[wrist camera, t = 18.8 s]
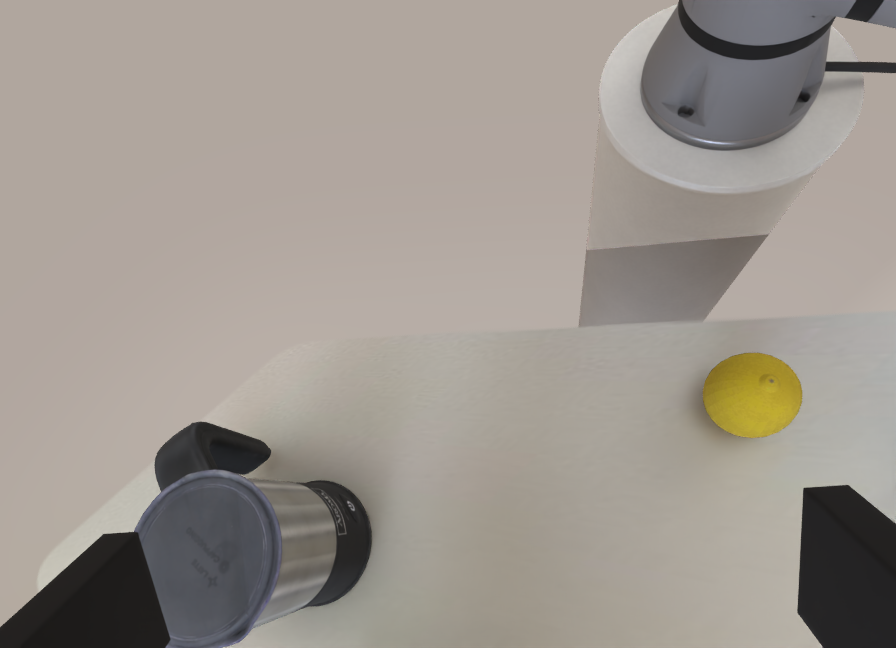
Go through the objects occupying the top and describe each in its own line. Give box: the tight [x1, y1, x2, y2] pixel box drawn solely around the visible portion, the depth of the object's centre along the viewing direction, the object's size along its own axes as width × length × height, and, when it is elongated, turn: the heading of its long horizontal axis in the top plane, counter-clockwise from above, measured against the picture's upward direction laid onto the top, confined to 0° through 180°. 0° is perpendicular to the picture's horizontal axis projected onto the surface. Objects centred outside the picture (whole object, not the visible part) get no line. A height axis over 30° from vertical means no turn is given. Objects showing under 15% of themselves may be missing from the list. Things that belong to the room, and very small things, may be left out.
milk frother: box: [134, 422, 371, 648], centre depth 35 cm, size 14×16×15 cm
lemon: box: [703, 353, 802, 438], centre depth 35 cm, size 6×6×8 cm
